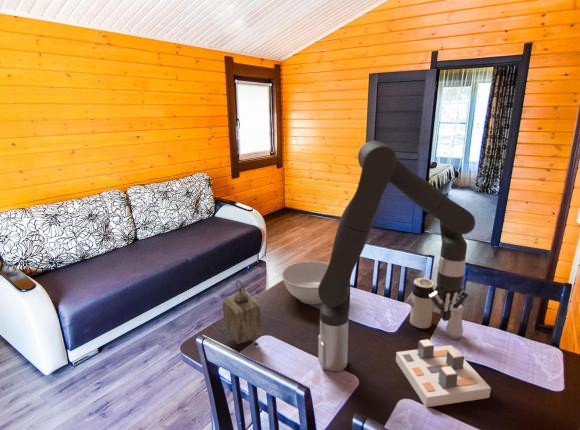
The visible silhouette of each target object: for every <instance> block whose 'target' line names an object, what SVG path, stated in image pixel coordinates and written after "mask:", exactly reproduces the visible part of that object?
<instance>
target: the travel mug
mask: <svg viewBox="0 0 580 430" xmlns="http://www.w3.org/2000/svg"><path fill="white" fill-rule="evenodd" d="M413 284H414V285H413V286H412V288H411V289H412V290H411V302H410V314H409V323H410V324H411V326H413V327H416V328H418V329H428V328H431V326H432V319H433V318H432V317H433V309H434V303H433V302H432V300H431V299H430V298H429V297H428V294H429V293H431V294H432V293H434V292H435V288H434V287H435V281H433V280H431V279H430V278H425V277H418V278H415V279H414V280H413Z"/></svg>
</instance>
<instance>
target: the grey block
mask: <svg viewBox="0 0 580 430" xmlns="http://www.w3.org/2000/svg"><path fill="white" fill-rule="evenodd" d="M457 376H458V375H457V373H456V372H455V371H454V370H453V368H452V367H451V366H448V367H441V368H440V371H439V379H438V380H439V381H440V382H441V384H442V385H443V386H444V388H451V387H456V384H457Z"/></svg>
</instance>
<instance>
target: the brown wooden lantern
mask: <svg viewBox="0 0 580 430" xmlns="http://www.w3.org/2000/svg"><path fill="white" fill-rule="evenodd" d="M238 283H239V284H240V285H241V287H239V285H238ZM235 286H236V289H237V290H238V291H237V292H236V293H235V294H233V295H230V296H226V298H224V299H223V302H222V309H223V319H224V320H223V321H224V327H225V329H226V330H227V332H228V333H229V335H230V336H231V338H232V339H233V340H234V341H235V343H236V345H240V344H241V343H242V344H244V343H246V342H248V341H251V342H253V347H254V346H258V347H259V343H258V342H256V341H255V339H256V338H259V337H261V336H262V334H263V333H262V332H263V331H262V330H263V327H262V326H263V325H262V324H263V323H262V322H263V321H262V312H261V308H260V305H259V303H258V301H257V300H256V299H255V298H254V297H253V296H252V295H251V294H250V293H249V292H247V291H245V290H246V289H245V285H244V284H243V283H242V281H241V280H239V279H236V280H235Z"/></svg>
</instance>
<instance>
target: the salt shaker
mask: <svg viewBox="0 0 580 430" xmlns="http://www.w3.org/2000/svg"><path fill="white" fill-rule="evenodd" d="M464 308H465V307H464V306H463V305H462V304H461V305H460V306H459V307H458V308H453V310H452V311H451V317H450V319H449V321H448V322H447V324H446V327H445V332H446V334H447V337H449V339H453V340H458V339H459V338H460V337H462V335H463V334H464V326H463V318H462V317H463V316H462V314H463V312H464Z"/></svg>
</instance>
